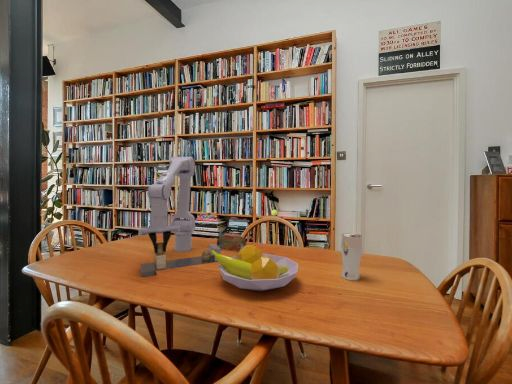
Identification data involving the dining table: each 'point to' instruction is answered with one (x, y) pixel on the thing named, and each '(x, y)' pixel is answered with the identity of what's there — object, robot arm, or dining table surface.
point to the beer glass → (351, 255)
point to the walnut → (206, 255)
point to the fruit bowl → (256, 269)
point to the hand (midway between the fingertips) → (160, 252)
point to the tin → (231, 242)
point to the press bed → (179, 262)
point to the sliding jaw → (160, 257)
